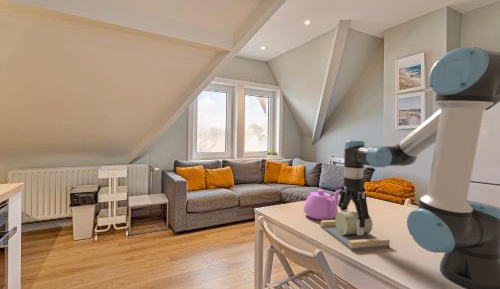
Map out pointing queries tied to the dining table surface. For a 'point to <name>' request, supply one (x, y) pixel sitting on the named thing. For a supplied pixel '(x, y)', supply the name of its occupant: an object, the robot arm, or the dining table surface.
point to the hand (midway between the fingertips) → (351, 229)
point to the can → (350, 223)
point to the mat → (355, 238)
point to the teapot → (321, 205)
